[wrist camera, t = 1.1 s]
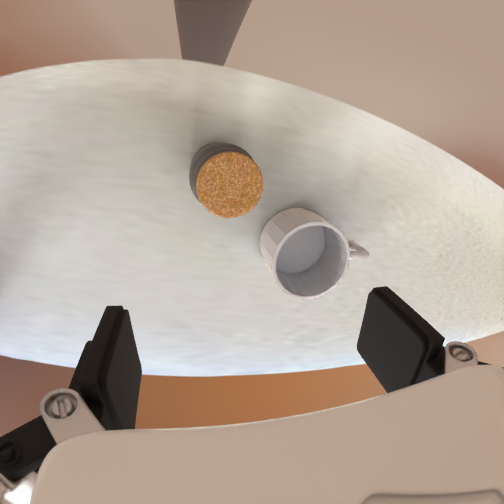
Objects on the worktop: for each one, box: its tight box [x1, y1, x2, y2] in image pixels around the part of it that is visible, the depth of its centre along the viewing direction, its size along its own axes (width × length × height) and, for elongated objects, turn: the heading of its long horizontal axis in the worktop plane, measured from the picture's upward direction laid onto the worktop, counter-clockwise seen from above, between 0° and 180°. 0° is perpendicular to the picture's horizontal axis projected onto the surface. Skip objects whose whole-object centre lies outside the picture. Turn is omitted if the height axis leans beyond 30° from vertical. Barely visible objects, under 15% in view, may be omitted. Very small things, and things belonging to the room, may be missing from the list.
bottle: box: [189, 143, 263, 218], centre depth 28 cm, size 6×6×15 cm
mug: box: [259, 208, 369, 300], centre depth 37 cm, size 13×9×7 cm
